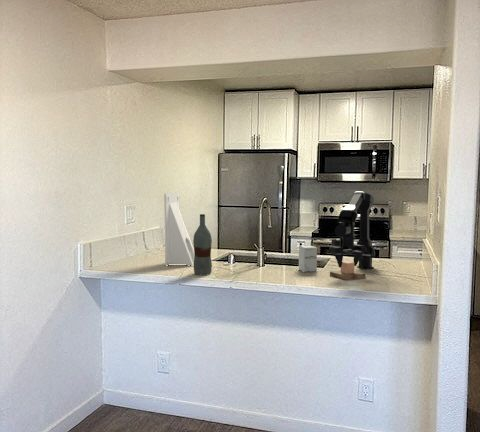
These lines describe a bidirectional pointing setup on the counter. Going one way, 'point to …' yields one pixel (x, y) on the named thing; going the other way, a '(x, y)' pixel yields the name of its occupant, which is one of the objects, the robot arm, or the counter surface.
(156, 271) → the counter surface
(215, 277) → the counter surface
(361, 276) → the walnut base
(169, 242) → the white bracket plate
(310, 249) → the supplement box
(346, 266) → the terracotta block
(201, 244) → the bottle
